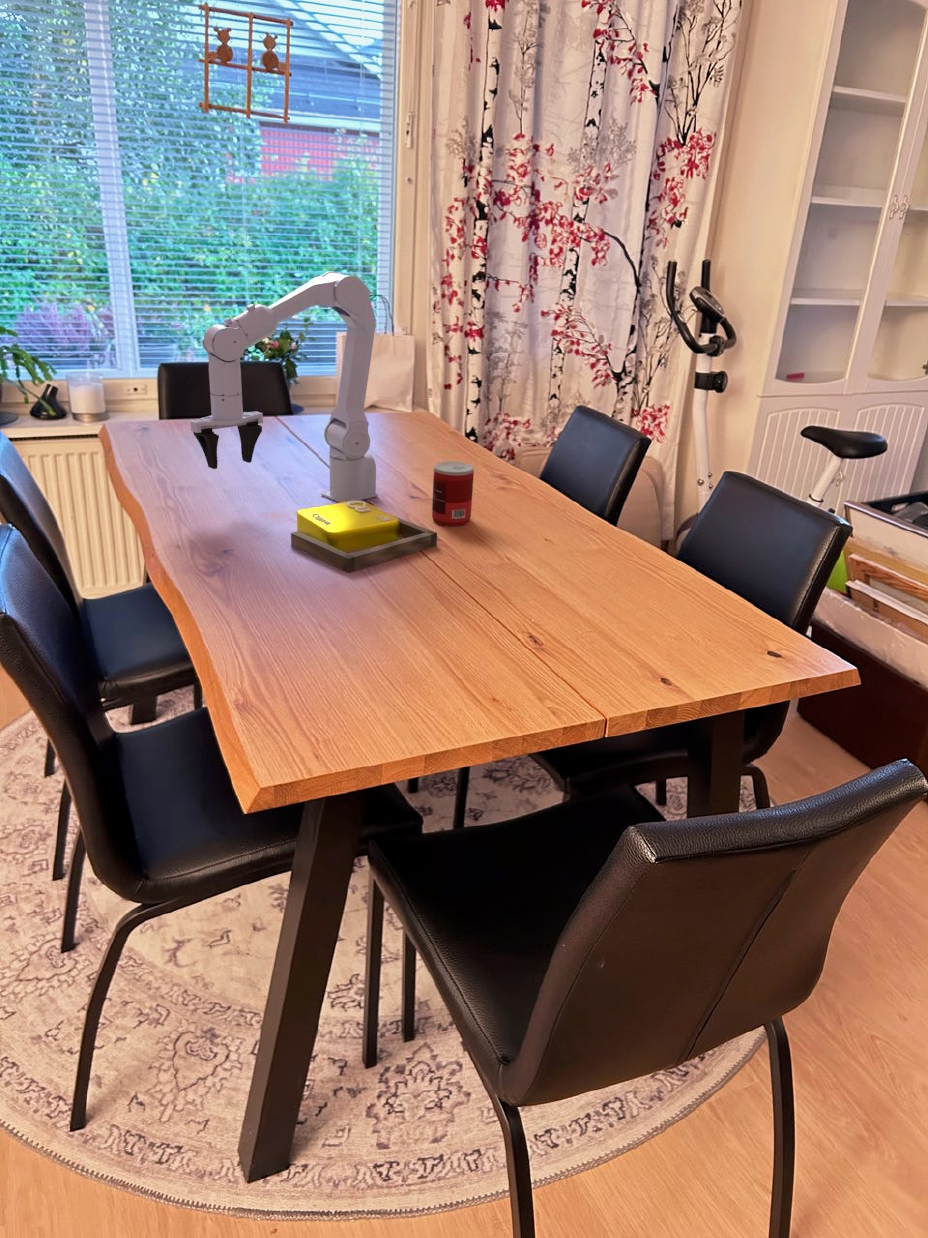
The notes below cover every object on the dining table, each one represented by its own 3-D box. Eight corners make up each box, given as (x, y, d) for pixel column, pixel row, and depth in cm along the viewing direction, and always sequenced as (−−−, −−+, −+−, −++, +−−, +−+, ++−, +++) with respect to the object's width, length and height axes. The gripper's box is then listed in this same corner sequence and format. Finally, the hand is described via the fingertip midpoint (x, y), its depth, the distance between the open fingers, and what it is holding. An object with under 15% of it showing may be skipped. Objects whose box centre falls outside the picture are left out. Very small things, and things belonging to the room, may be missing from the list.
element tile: (293, 531, 169) (292, 507, 167) (361, 519, 178) (361, 496, 176) (333, 557, 158) (332, 531, 156) (403, 542, 167) (404, 518, 165)
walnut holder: (379, 522, 175) (379, 510, 174) (436, 545, 165) (437, 532, 164) (291, 546, 161) (290, 532, 160) (348, 572, 151) (348, 558, 150)
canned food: (476, 518, 181) (480, 465, 176) (460, 529, 174) (463, 474, 169) (442, 511, 183) (445, 458, 179) (425, 522, 177) (427, 467, 172)
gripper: (247, 385, 174) (250, 454, 180) (179, 393, 164) (185, 465, 170) (268, 392, 169) (270, 462, 175) (200, 400, 160) (205, 474, 165)
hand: (230, 464), depth 172 cm, fingers open, 7 cm apart
